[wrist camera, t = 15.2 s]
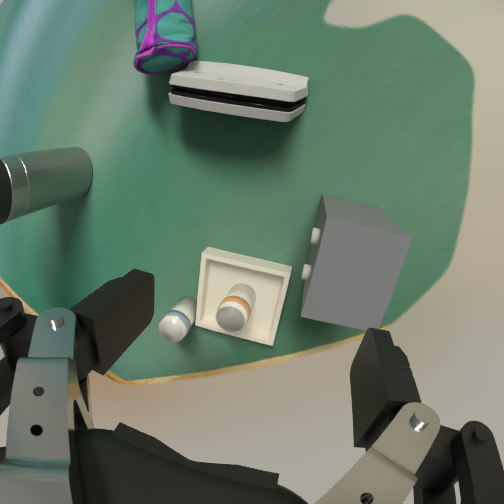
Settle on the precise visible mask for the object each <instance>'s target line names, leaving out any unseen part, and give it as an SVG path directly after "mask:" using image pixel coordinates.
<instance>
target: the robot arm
mask: <svg viewBox="0 0 504 504" xmlns="http://www.w3.org/2000/svg"><path fill="white" fill-rule="evenodd" d="M91 180H92V166H91V162H90V159H89V157H88V155H87V154H86V152H85V151H84V150H82V149H81V148H78V147H71V148H60V149H51V150H43V151H35V152H28V153H21V154H15V155H9V156H4V157H0V224H3V223H5V222H8V221H10V220H13V219H16V218H19V217H21V216H24V215H27V214H30V213H33V212H36V211H39V210H42V209H45V208H48V207H51V206H54V205H57V204H60V203H64V202H67V201H70V200H74V199H77V198H80V197H82V196H83V195H84V194H85V193H86V192H87V191H88V189H89V187H90V184H91ZM153 314H154V276H153V274H151V273H148V272H144V271H141V270H137V269H133V270H131V271H130V272H129V273H127V274H126V275H125V276H123V277H122V278H121V277H119V278H116V279H113V280H111V281H108V282H107V283H105V284H104V285H102V286H101V287H100V289H97V290H95V291H94V292H93V294H90V295H89V296H87V297H86V298H84V299H83V300H82V301H80V302H79V303H78V304H76V305H75V306H74V307H72V308H71V309H70V310H69V309H66V308H59V307H57V308H50V309H47V310H45V311H43V312H42V313H41V314H40V315H39V316H35V315H31V314H26V313H24V309H23V305H22V302H21V301H20V300H19V299H17V298H14V297H6V298H2V299H0V345H1V348H2V350H3V353H4V355H5V357H4V358H3V359H2V360H0V415H1V414H2V413H3V411H4V410H5V409H6V408H7V407H8V406H9V405H10V410H9V417H8V429H7V443H6V447H0V504H308V503H307V502H306V501H305V500H304V499H302V498H301V497H300V496H299V495H297V494H295V493H294V492H292V491H291V490H289V489H287V488H285V487H283V486H281V485H278V484H277V483H278V477H279V474H278V473H272V472H267V471H262V470H258V469H253V468H249V467H245V466H240V465H230V464H216V463H204V462H196V461H192V460H189V459H187V458H185V457H184V456H182V455H181V454H179V453H177V452H176V451H174V450H173V449H171V448H170V447H168V446H167V445H165V444H164V443H162V442H161V441H159V440H158V439H156V438H155V437H152V436H150V435H147V434H145V433H143V432H140V431H138V430H136V429H134V428H131V427H129V426H127V425H125V424H123V423H119V424H118V426H117V427H116V429H115V430H114V431H112V430H106V429H94V425H93V420H92V411H91V399H90V385H89V377H88V374H89V373H90V372H91V370H94V371H96V372H97V373H100V374H102V375H104V374H105V373H106V372H107V371H108V370H109V369H110V367H111V366H112V365H113V364H114V363H115V362H116V361H117V359H118V358H119V357H120V356H121V355H122V354H123V353H124V352H125V350H126V349H127V348H128V347H129V346H130V345H131V344H132V343H133V341H134V340H135V339H136V338H137V337H138V336H139V335H140V334H141V333H142V331H143V330H144V329H145V328H146V327H147V326H148V325H149V324H150V322H151V320H152V317H153ZM412 375H413V374H412V371H411V368H410V365H409V362H408V359H407V356H406V355H405V354H404V352H403V351H402V350H401V349H400V348H399V347H398V346H394V344H393V341H392V338H391V335H390V332H389V331H386V330H381V329H376V328H371V327H370V328H368V329H367V331H366V333H365V335H364V338H363V340H362V342H361V344H360V347H359V349H358V351H357V353H356V356H355V358H354V360H353V363H352V366H351V370H350V383H351V396H352V413H353V434H354V447H361V448H366V453H365V454H364V455H363V456H362V458H360V459H359V461H358V462H357V463H356V464H355V465H354V466H353V467H352V468H351V469H350V470H349V471H348V472H347V473H346V474H345V475H344V476H343V477H342V478H341V479H340V480H339V481H338V482H337V483H336V484H335V485H334V486H333V487H332V488H331V489H330V490H329V491H328V492H327V493H326V494H325V495H323V497H321V498H320V499H319V500H318V501H317V502H316V503H314V504H402V503H403V501H404V500H405V498H406V497H407V495H408V494H409V492H410V491H411V489H412V488H413V490H414V504H456V496H455V489H454V484H455V483H456V482H458V481H459V488H460V495H461V504H504V470H503V466H502V463H501V459H500V455H499V452H498V449H497V445H496V442H495V439H494V436H493V434H492V432H491V431H490V429H489V428H488V427H487V426H485V425H484V424H483V423H481V422H478V421H470V422H467V423H466V424H465V425H464V426H463V427H462V428H461V430H460V431H458V430H454V429H451V428H448V427H445V426H442V425H440V420H439V417H438V415H437V414H436V413H435V411H434V410H433V409H431V408H430V407H429V406H427V405H425V404H422V403H421V400H420V396H419V393H418V390H417V387H416V383H415V380H414V377H413V376H412Z"/></svg>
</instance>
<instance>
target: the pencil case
mask: <svg viewBox="0 0 504 504" xmlns="http://www.w3.org/2000/svg"><path fill="white" fill-rule="evenodd" d="M135 32H136V44H137V53H136V55H135V58H134V67H135V68H136V70H137V71H139V72H141V73H145V74H157V73H162V72H166V71H169V70H172V69H176V68H178V67H181V66H182V65H184V64H186V63H187V62H189V61H190V60H192V59H193V58H194V57H195V56H196V55H197V53H198V48H197V42H196V29H195V23H194V16H193V9H192V3H191V0H136V2H135Z"/></svg>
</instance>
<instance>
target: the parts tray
mask: <svg viewBox="0 0 504 504" xmlns="http://www.w3.org/2000/svg"><path fill="white" fill-rule="evenodd" d="M291 270H292V266H288V265H284V264H280V263H275V262H271V261H267V260H262V259H258V258H254V257H249V256H245V255H241V254H236V253H232V252H228V251H224V250H219V249H215V248H211V247H207V248H206V249H205V250H204V251H203V252H202V258H201V268H200V277H199V288H198V299H197V310H196V322H195V325H196V326H200V327H203V328H206V329H210V330H213V331H217V332H221V333H224V334H228V335H232V336H235V337H239V338H243V339H247V340H251V341H255V342H259V343H263V344H267V345H271V346H272V345H273V342H274V338H275V334H276V330H277V327H278V323H279V319H280V315H281V311H282V307H283V303H284V299H285V295H286V291H287V287H288V283H289V279H290V275H291ZM238 283H245V284H248V285H249V286H251V287H252V288H253V289H254V291H255V293H256V300H255V302H254V305H253V307H252V310H251V314H250V317H249V320H248V322H247V323H246V325H245V326H244V328H243V329H241V330H240V331H238V332H228V331H226V330H224V329H222V328H221V327H220V326H219V325H218V323H217V321H216V312H217V309H218V307H219V305H220V303H221V302H222V300H223V299H224V298H226V296H227V294H228V293H229V291H230V290H231V288H232V287H233V286H234V285H235V284H238Z"/></svg>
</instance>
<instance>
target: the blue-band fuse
mask: <svg viewBox="0 0 504 504" xmlns="http://www.w3.org/2000/svg"><path fill="white" fill-rule="evenodd" d="M196 310H197V301H195V300H194V299H193V298H190V297H183V298H181V299H180V300H179V301H178V302H177V303H176V304H175V306H174V307H173V308H172V309H171V310H170V311H169V312H167V314H166V315H165V316H164V317H163V318H162V321H161V322H160V324H159V330H160V333H161V334H162V336H163V337H164V338H166V339H167V340H169V341H171V342H179V341H181V340H182V339H183V338H184V337H185V336H186V335H187V333H188V332H189V330H190V328H191V326H192V324H193V323H194V321H195V320H196Z"/></svg>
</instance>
